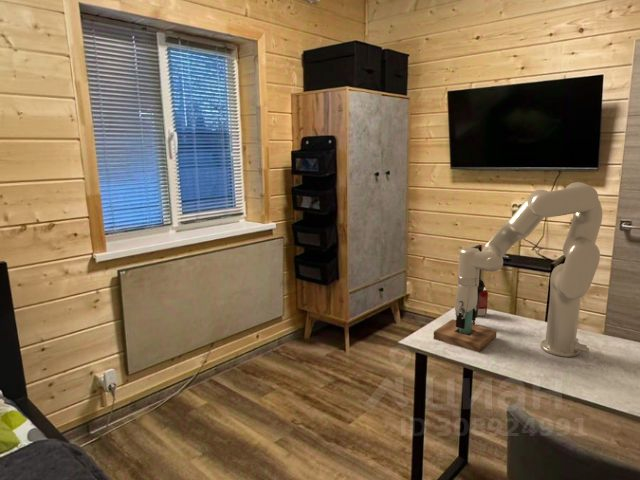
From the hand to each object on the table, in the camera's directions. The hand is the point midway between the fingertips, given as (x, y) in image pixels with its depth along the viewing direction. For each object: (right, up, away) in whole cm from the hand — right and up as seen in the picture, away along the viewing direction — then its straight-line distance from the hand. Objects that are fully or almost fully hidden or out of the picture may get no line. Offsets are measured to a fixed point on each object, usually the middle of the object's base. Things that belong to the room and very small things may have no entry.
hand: (465, 323), depth 173 cm
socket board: (0, -6, +1) cm, 6 cm away
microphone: (+8, -3, +14) cm, 16 cm away
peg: (0, -6, +1) cm, 6 cm away
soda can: (+13, -1, +25) cm, 28 cm away
